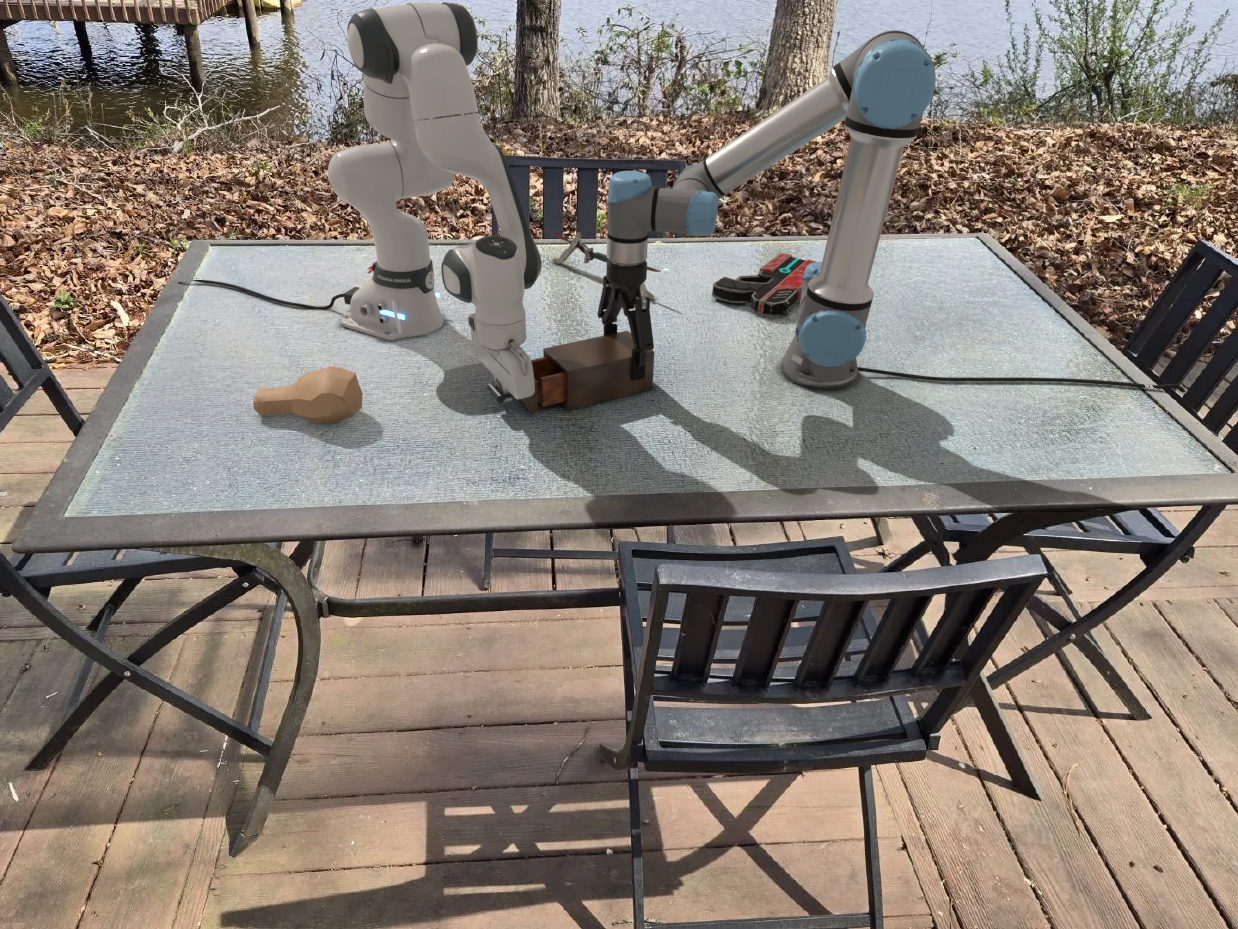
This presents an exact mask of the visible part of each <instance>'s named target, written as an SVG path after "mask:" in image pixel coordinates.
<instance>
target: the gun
mask: <svg viewBox="0 0 1238 929" xmlns="http://www.w3.org/2000/svg"><path fill="white" fill-rule="evenodd" d="M815 262H817V261H816V260H812V259H802V258H799V257H795V256H793V255H792V254H791V253H784V252H780V253H778V254H777V255H775V256H774V257H773V258H771V259H770V260H768V261H767V262H766V263H765V264H763V265H762V266H761V267H760V269H759V271H758V273H757V274H756V275H753V274H752V275H751V274H750V275H740V276H738V277H737V278H735V279H734V278H731V277H727V276H722V277H720V279H717V281H715V282H713V283H712V291H711V297H713V298H714V299H716V300H719V301H723V302H727V303H730V304H750V305H749V308H750V310H751V312H753V313H755V314H757V315H758V316H760V317H761V316H765V317H770V318H771V317H777V316H780V317H784V318H787V317H788V315H789V311H788V310H790V309H791V308H792V307H793V306H794V305H795V304H798V303H800V299H801V293H802V286H803V276H804V273H805V269H806V267H807V266H808V265H809V264H811V263H815Z"/></svg>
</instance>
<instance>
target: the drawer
mask: <svg viewBox="0 0 1238 929" xmlns="http://www.w3.org/2000/svg"><path fill="white" fill-rule="evenodd" d="M531 362H532V366H533V373H534V383H535V392H534V394H533V396H531V397H527V398H523V399H519V400H520V401H521V402H522V403H523V405H524V406H525V407H526V408H527V409H528V411H530V412H531V414H535V413H538V412H539V404H540V405H541V407H548V406H553V405H557V404H561V402H565V401H566V374H565V373H564V372H563V371H562V370H561V369H560V368H559V367H558V366H557V365H556V364H555V363H554V362H553V361H552V360H551V359H550V358H549V357H548V356H547V357H539V358H534V359H531ZM486 390H487V391H488V392H489V394H490V395H491V396H492V397H493V398H494V400H495V401H496V402H497V403H499V404H503V403H505V402H504V401H505V400H506V399H508V398H512V399H513V398H515V397H514V396H513V395H512V394H511V393H510V394H506V395H504V394H503V393H502V392H501V391H500V390H499V389H498V388H497V386H496V383H495V382H494V383H493V382H490V383H488V384H487V385H486Z"/></svg>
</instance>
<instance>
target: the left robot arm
mask: <svg viewBox="0 0 1238 929" xmlns="http://www.w3.org/2000/svg"><path fill="white" fill-rule="evenodd" d="M346 30H347V32H346V34H347V35H346V36H347V39H346V40H347V48H348V52H349V54H350V57H351V59H352V62H353V64H354V66H355V68H356V69H357V70H358V71H359V72H360V73H362V81H363V83H362V84H363V85H362V86H363V113H364V114H363V115H364V117H365V119H366V121H367V123H368V125H369V126H370V127H371V128H372V129H373V130H374V131H375V132H377V133H378V134H380V135H381V136H383V137H385V138H387V139H390V140H391V141H387V142H379V143H371V144H361V145H355V146H352V147H349V148H345V149H343V150H340V151H336V152H335V153H333V155H332V156H331V158H330V160H329V163H328V167H327V178H328V182H329V185H330V188H331V189H332V192H334V194H335V195H336V196H337V197H338V198H339V199H340V200H341V201H342V202H344V203H346V204H348V205H350V206H351V207H353V208H354V209H355V210H356V211H358V212H359V213H360V214H361V216H362V217H363V218H364V220H365V221H366V222H367V224H368V226H369V228H370V231H371V235H372V238H373V239H372V240H373V243H374V248H375V253H376V254H375V255H376V261H374V262H373V263H372V265H371V266H369V267H368V268H367V274H370V273H372V277H371V278H370V279H369V280H367V282H365V283H364V284H363V285H362V286H360V287H358V286H354V287H352V288H351V289H349V290H347V291H345V292H343V293H340V294H339V293H338V294H336V295H334V296H333V297H331V300H330V303H329V304H327V305H325V306H315V305H309V304H304V303H299V302H292V301H287V300H282V299H279V298H275V297H271V296H268V295H265V294H263V293H260V292H257V291H254V290H251V289H248V288H245V287H243V286H240V285H236V284H232V283H228V282H223V281H217V280H208V279H202V280H191V281H193V282H197V283H200V284H201V283H202V284H211V285H217V286H223V287H228V288H230V289H231V288H232V289H236V290H239V291H242V292H245V293H248V294H251V295H253V296H256V297H259V298H261V299H264V300H267V301H271V302H274V303H278V304H281V305H287V306H291V307H296V308H298V307H299V308H303V309H308V310H329V309H331V308H333V306H334V304H335V302H336V300H339V299H340V298H343V300H344V304H345V305H349V310H347V311H346V313H344V314H343V316H342V317H341V320H340V324H341V326H342V327H344V328H347V329H350V330H354V331H357V332H360V333H364V334H367V335H370V336H373V337H377V338H380V339H383V340H387V341H396V340H397V341H398V340H401V339H404V338H412V337H420V336H423V335H427V334H430V333H431V334H432V333H434V332H436V331H437V330H439V329H441V327H442V326H443V325H444V323H445V320H444V317H443V314H442V312H441V310H440V307H439V303H438V300H437V298H441V293H439V292H436V291H435V271H434V264H433V260H432V259H431V253H430V243H429V232H428V229H427V226H426V225H425V223H424V222H423V221H422V220H421V219H420V218H419V217H417V216H415V215H414V214H413V215H412V214H410V213H408V212H404V211H401V210H399V209H398V205H397V201H399V200H402V199H403V200H404V199H411V198H416V197H417V198H419V197H424V196H431V195H434V194H437V193H439V192H442V191H444V190H447V189H450V188H451V187H452V185H453V184H454V181H455V179H456V175H458V176H463V177H466V178H469V179H471V180H474V181H477V182H478V183H479V184H480V185H481V186H483V188H484V189H485V191H486V192H487V195H488V198H489V200H490V203H491V206H492V210H493V213H494V216H495V219H496V222H497V225H498V228H499V231H500V235H486V236H482V237H480V238H478V239H477V240H476V241H475V242H471V243H468V244H463V245H458V246H455V247H453V248H450V249H448V251H447V252H446V253H445V255H444V257H443V259H442V262H441V265H440V267H441V268H440V269H441V271H440V272H441V279H442V284H443V287H444V289H445V291H446V292H447V293H448V294H450V295H451V296H452V297H454V298H455V299H458V300H460V301H462V302H464V303H467V304H473V305H474V307H475V312H474V313H470V314H468V315H467V324H468V327H469V328H470V336H471V344H472V350H473V352H474V355H475V358H477V360H479V361H480V363H481V364H482V365H483V366H484V367H485V368H486V369H487V370H488V371H489V372H490V373H491V375H492V376H493V380H494V384H495V385H496V386H497V388H498V389H499V390H500V391H501V392H502V393H503V394H504V395H506V394H510V393H511V394H512V395H513V396H514V397H512V398H508V399H506V400H505V401H504V402H503V403H505V402H506V403H507V402H511V401H512V400H513V398H514V399H515V400H520V399H523V398H527V397H531V396H533V394H534V392H535V383H534V373H533V366H532V362H531V360H532V359H531V358H530V356H529V354H527V353H526V351H525V350H524V349H523V348H522V347H521V345H523V344H524V343H525V342H526V340H527V320H526V319H527V318H526V310H525V306H524V296H525V290H529V289H531V288H532V287H533V286H534V285H535V283H536V282H537V280H538V278H539V276H540V275H541V271H542V267H543V263H542V257H541V253H540V250H539V249H538V245H537V243H536V241H535V240H534V238H533V236H532V233H531V230H530V227H529V225H528V222H527V219H526V214H525V212H524V209H523V206H522V202H521V199H520V197H519V192H518V189H517V186H516V184H515V181H514V178H513V174H512V171H511V168H510V165H509V163H508V161H507V158H506V156H505V153H504V151H503V150H502V149H501V147H500V145H499V144H496V143H493V142H492V141H491V139H490V138H489V137H488V135H487V133H486V131H485V129H484V127H483V125H482V121H481V118H480V113H479V108H478V101H477V97H476V93H475V89H474V85H473V82H472V79H471V75H470V72H469V69H468V66H469V65H471V64H472V63H473V61H474V60H475V57H476V55H477V52H478V46H479V44H478V43H479V41H478V39H479V38H478V32H477V26H476V23H475V20H474V18H473V16H472V15H471V13H470V11H468V10H467V8H466V7H465V6H463V5H461V4H458V3H454V2H446V1H444V2H441V3H433V2H408V3H405V4H398V5H391V6H386V7H379V8H375V9H374V8H372V7H369V8H366V9H363V10H360V11H357V12H355V13H353V14H352V15H351V17H350V19H349V21H348V23H347V29H346ZM195 278H196V279H197V278H198V277H195Z"/></svg>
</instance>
